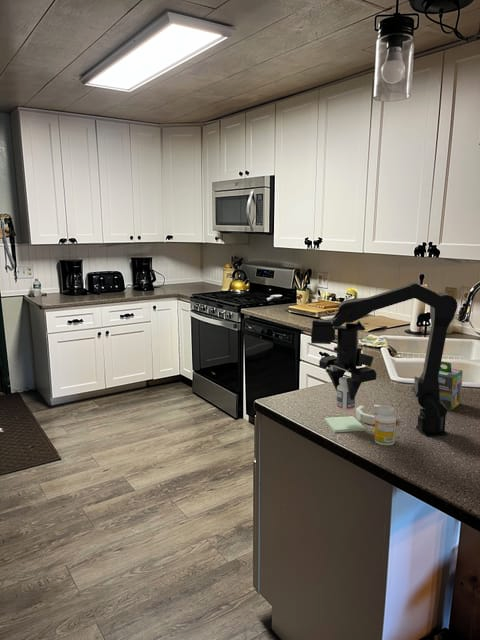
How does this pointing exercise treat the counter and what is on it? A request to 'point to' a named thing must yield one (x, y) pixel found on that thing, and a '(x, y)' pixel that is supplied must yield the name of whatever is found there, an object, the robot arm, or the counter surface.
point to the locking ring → (366, 415)
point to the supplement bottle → (385, 426)
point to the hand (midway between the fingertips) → (345, 396)
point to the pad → (344, 424)
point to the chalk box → (450, 386)
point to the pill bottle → (344, 396)
